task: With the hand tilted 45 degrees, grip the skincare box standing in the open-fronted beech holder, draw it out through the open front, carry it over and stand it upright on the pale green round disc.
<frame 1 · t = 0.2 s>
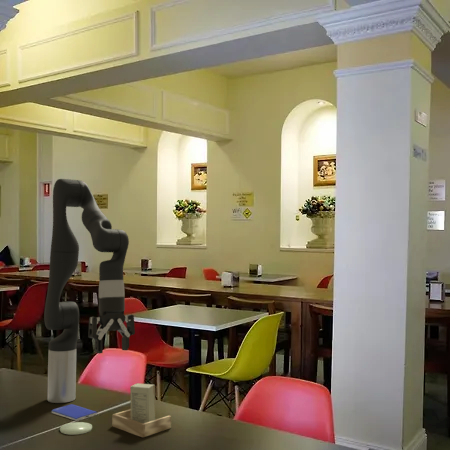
hand: (112, 351, 163), 22 cm above the table, tool pointing down, fingers open, 8 cm apart
skincare box: (142, 427, 165), resting in holder
hard drive: (74, 416, 176), on the table
holder: (142, 426, 165), on the table
pale green round disc: (76, 429, 162), on the table
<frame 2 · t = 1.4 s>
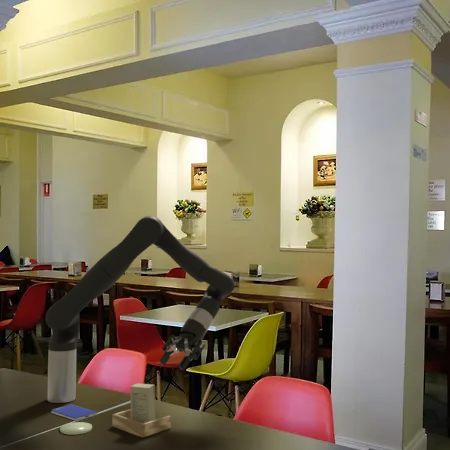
hand: (171, 366, 174), 16 cm above the table, tool tilted 45°, fingers open, 8 cm apart
nothing on the table moved.
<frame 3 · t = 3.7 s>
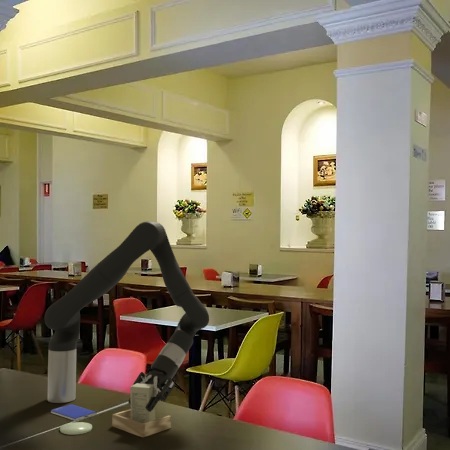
hand: (139, 407, 164), 6 cm above the table, tool tilted 45°, fingers closed on skincare box, 7 cm apart
skincare box: (142, 427, 165), resting in holder, touching gripper
everything else where it was.
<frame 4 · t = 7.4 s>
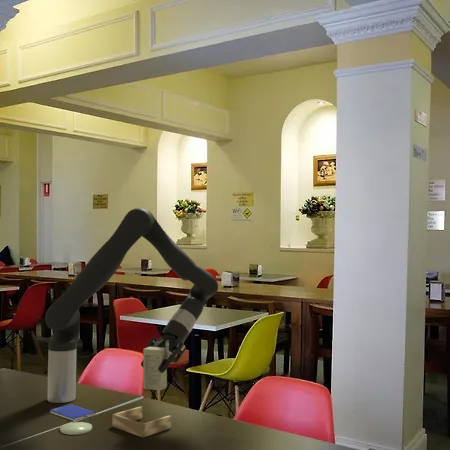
hand: (151, 369, 170), 16 cm above the table, tool tilted 45°, fingers closed on skincare box, 7 cm apart
skincare box: (154, 388, 171), point 10 cm above the table, touching gripper
everything else where it was.
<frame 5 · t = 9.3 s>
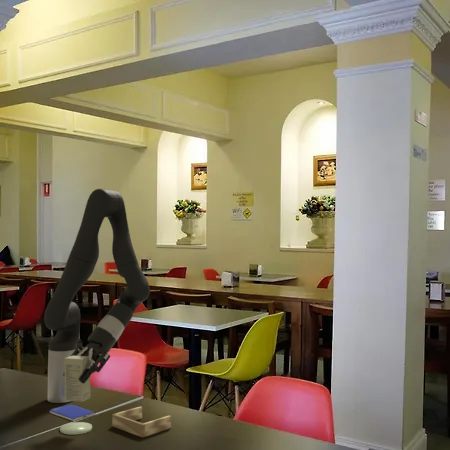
hand: (73, 379, 161), 15 cm above the table, tool tilted 45°, fingers closed on skincare box, 7 cm apart
skincare box: (77, 400, 162), point 8 cm above the table, touching gripper
everything else where it was.
when the fingers open (7 cm above the table, at t = 11.1 s): skincare box stays where it is, resting on pale green round disc.
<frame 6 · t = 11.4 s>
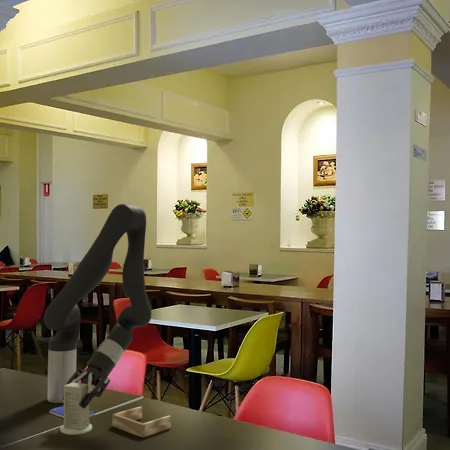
hand: (72, 403, 161), 8 cm above the table, tool tilted 45°, fingers open, 8 cm apart
skincare box: (76, 427, 162), resting on pale green round disc
everything else where it was.
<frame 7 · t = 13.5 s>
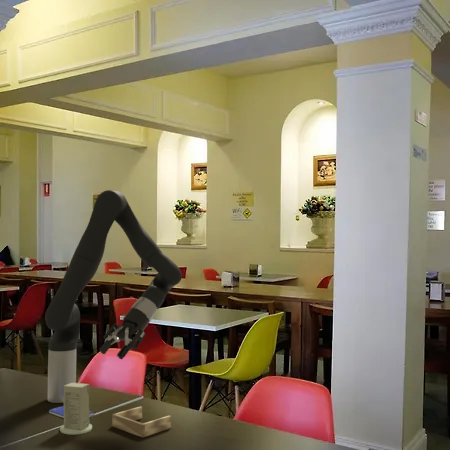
hand: (110, 355, 171), 20 cm above the table, tool tilted 45°, fingers open, 8 cm apart
nothing on the table moved.
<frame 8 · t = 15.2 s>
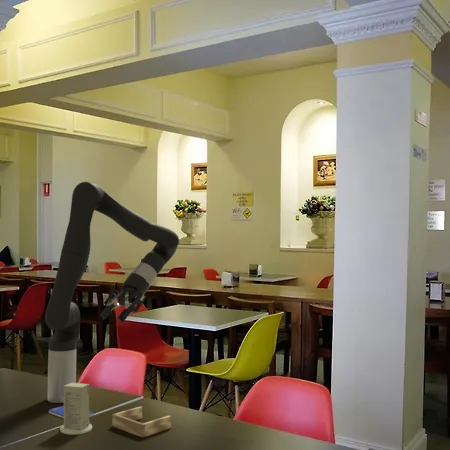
hand: (110, 319, 171), 31 cm above the table, tool tilted 45°, fingers open, 8 cm apart
at the end: skincare box 0.3 cm from the pale green round disc (horizontally); skincare box tilted 0°; the gripper is holding nothing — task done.
